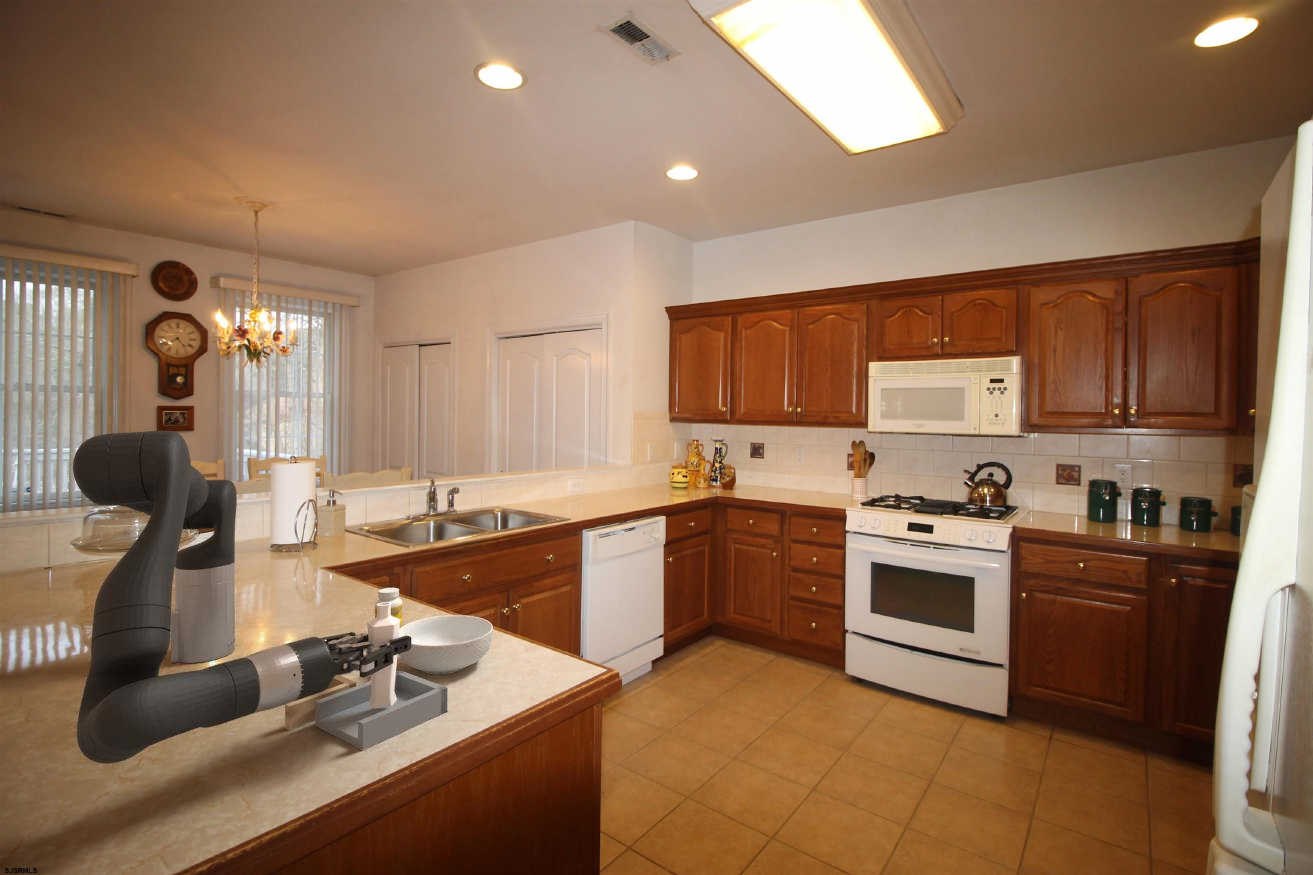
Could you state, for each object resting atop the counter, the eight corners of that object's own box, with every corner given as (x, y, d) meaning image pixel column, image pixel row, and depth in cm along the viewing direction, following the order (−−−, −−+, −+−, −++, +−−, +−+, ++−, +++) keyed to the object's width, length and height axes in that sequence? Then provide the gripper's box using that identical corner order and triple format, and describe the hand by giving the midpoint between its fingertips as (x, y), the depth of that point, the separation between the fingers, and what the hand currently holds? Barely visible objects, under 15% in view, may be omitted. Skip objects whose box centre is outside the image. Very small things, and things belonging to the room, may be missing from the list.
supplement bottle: (399, 629, 134) (399, 585, 134) (404, 636, 130) (405, 591, 129) (372, 633, 131) (372, 588, 131) (376, 641, 127) (377, 594, 126)
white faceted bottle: (372, 697, 96) (373, 600, 96) (401, 696, 97) (402, 599, 97) (360, 710, 92) (361, 608, 92) (391, 709, 92) (392, 607, 92)
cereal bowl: (399, 692, 103) (400, 650, 103) (391, 658, 118) (391, 621, 118) (502, 674, 111) (502, 635, 111) (482, 644, 126) (482, 610, 126)
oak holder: (289, 730, 90) (289, 706, 90) (251, 709, 96) (251, 687, 96) (356, 703, 99) (356, 682, 99) (317, 686, 105) (317, 665, 105)
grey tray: (362, 750, 85) (363, 723, 85) (315, 725, 92) (315, 700, 92) (447, 711, 97) (447, 687, 97) (399, 692, 103) (399, 670, 103)
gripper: (314, 657, 78) (429, 623, 92) (258, 634, 86) (372, 606, 100) (313, 716, 78) (428, 673, 92) (257, 688, 86) (372, 652, 100)
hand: (399, 638), depth 96 cm, fingers closed on white faceted bottle, 4 cm apart
